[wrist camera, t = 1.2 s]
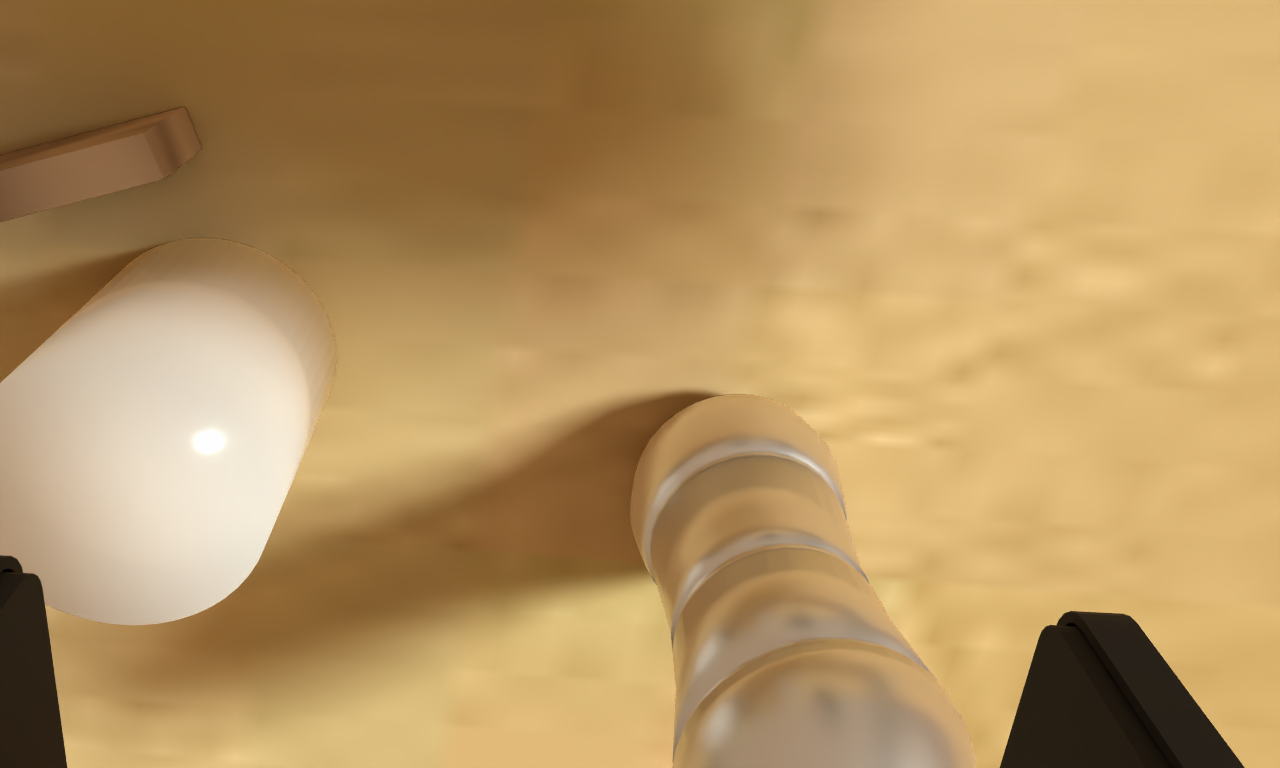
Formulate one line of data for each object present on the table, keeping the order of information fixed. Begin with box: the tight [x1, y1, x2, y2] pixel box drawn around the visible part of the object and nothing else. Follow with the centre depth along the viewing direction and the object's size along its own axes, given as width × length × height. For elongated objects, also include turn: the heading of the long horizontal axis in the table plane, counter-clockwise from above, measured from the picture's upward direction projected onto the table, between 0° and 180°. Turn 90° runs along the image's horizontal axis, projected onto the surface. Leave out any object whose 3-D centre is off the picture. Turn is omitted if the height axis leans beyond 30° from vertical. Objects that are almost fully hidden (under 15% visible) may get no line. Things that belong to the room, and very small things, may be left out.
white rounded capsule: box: [0, 238, 337, 625], centre depth 30 cm, size 7×7×9 cm
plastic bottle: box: [630, 394, 976, 768], centre depth 28 cm, size 6×7×20 cm
